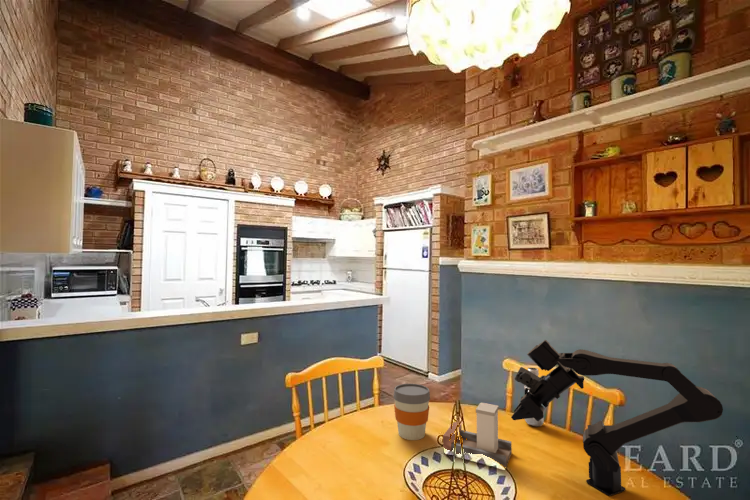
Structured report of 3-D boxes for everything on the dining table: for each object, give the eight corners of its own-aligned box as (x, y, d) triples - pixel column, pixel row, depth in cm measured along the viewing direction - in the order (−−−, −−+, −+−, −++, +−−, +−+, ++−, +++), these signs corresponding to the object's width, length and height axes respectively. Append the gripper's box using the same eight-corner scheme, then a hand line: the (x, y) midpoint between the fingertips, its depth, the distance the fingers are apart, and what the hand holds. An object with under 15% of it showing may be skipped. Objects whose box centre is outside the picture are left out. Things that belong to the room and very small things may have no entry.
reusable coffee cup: (430, 444, 115) (430, 396, 116) (391, 441, 117) (391, 394, 118) (430, 427, 127) (430, 384, 128) (395, 424, 129) (395, 382, 130)
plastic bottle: (532, 429, 126) (532, 372, 127) (520, 421, 132) (519, 367, 133) (548, 427, 128) (547, 370, 129) (534, 419, 134) (534, 365, 135)
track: (511, 453, 110) (511, 434, 110) (505, 470, 100) (505, 450, 100) (454, 438, 119) (454, 421, 119) (443, 453, 109) (443, 435, 109)
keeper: (498, 447, 109) (498, 405, 110) (494, 457, 104) (494, 412, 105) (481, 443, 112) (480, 402, 113) (476, 452, 107) (475, 409, 107)
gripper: (535, 353, 111) (499, 383, 116) (528, 367, 95) (486, 402, 100) (565, 383, 107) (525, 413, 112) (562, 403, 91) (517, 437, 96)
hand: (513, 415), depth 105 cm, fingers open, 5 cm apart
